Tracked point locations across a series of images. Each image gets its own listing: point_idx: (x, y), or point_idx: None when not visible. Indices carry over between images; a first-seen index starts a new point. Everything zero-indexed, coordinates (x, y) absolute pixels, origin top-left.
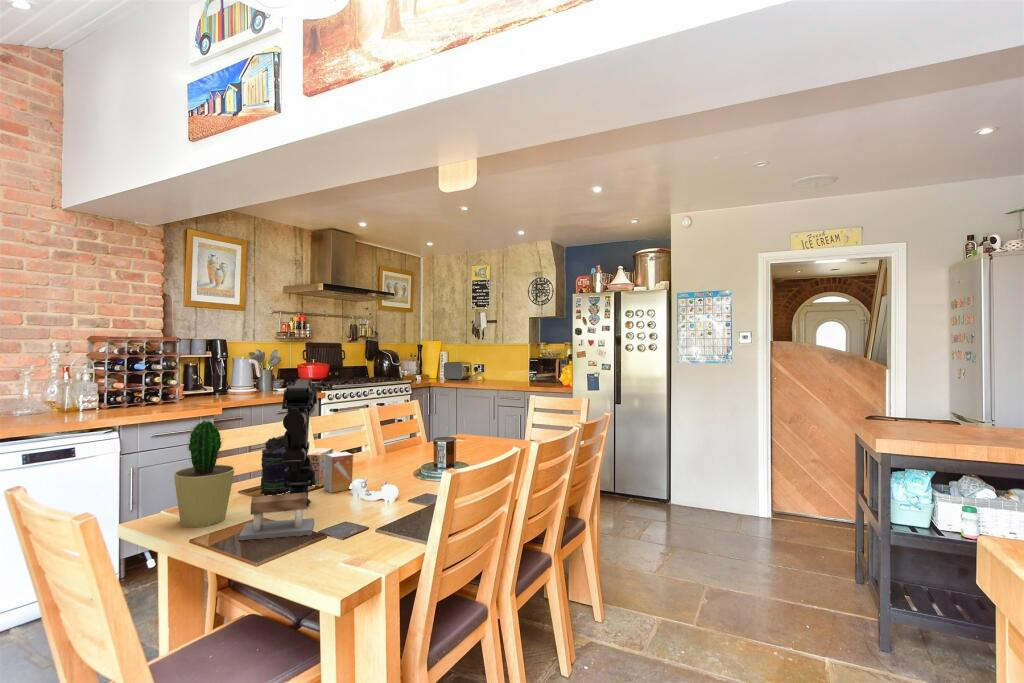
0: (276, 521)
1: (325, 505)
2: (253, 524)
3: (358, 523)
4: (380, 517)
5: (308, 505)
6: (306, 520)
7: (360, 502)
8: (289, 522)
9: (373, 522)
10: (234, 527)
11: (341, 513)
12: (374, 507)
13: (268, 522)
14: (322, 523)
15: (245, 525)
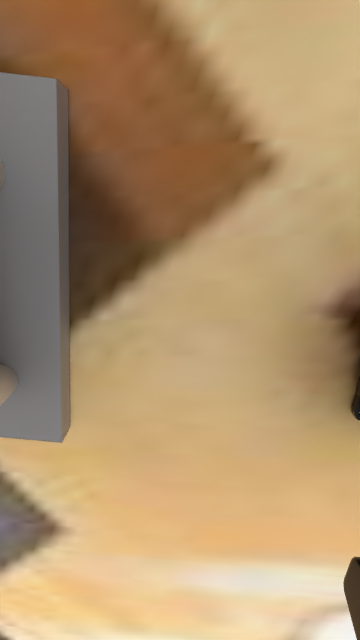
0: (47, 268)
1: (328, 481)
2: (16, 131)
3: (25, 563)
4: (77, 626)
5: (356, 416)
6: (30, 410)
7: (302, 596)
8: (14, 334)
9: (25, 602)
10: (109, 4)
11: (175, 526)
12: (209, 626)
13: (38, 224)
14: (58, 455)
15: (6, 77)
